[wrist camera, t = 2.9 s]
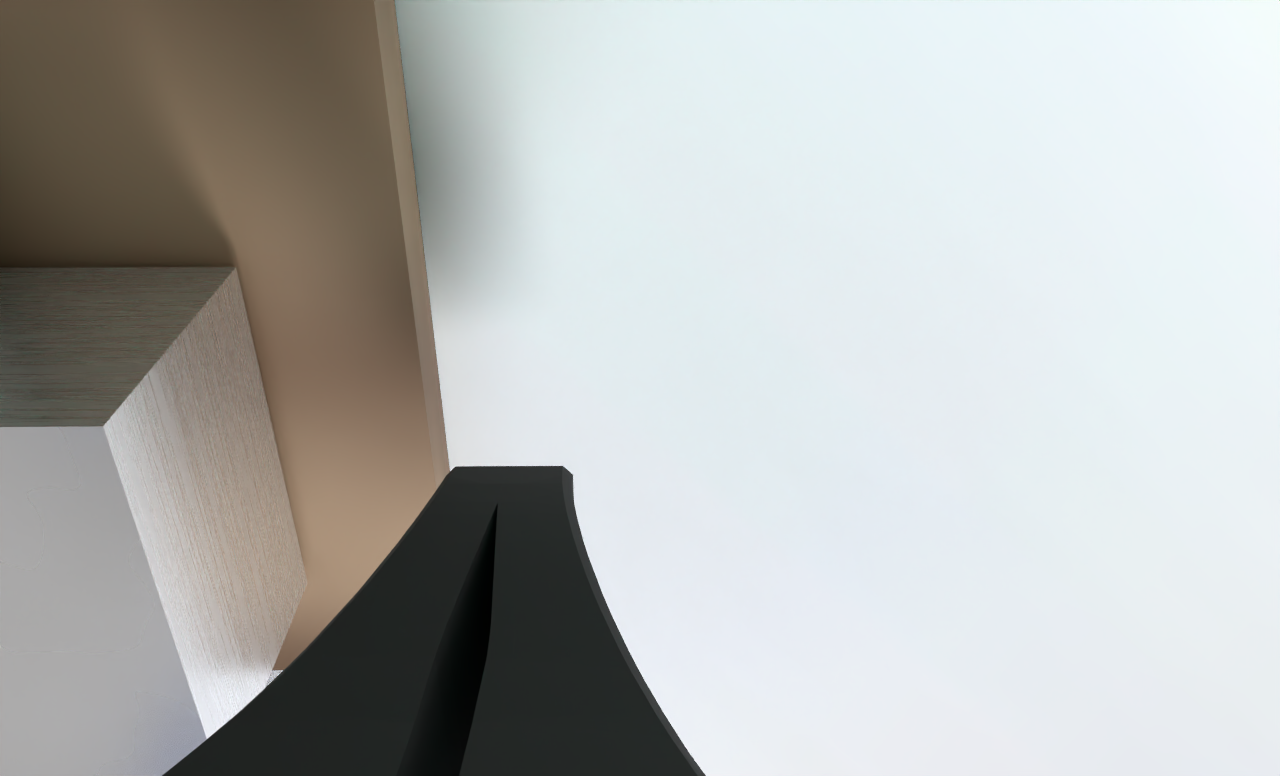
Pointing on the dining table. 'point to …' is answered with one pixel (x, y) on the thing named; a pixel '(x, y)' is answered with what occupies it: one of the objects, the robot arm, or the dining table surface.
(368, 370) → the base
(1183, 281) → the dining table surface
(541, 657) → the robot arm
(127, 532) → the gauge carriage
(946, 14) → the dining table surface
